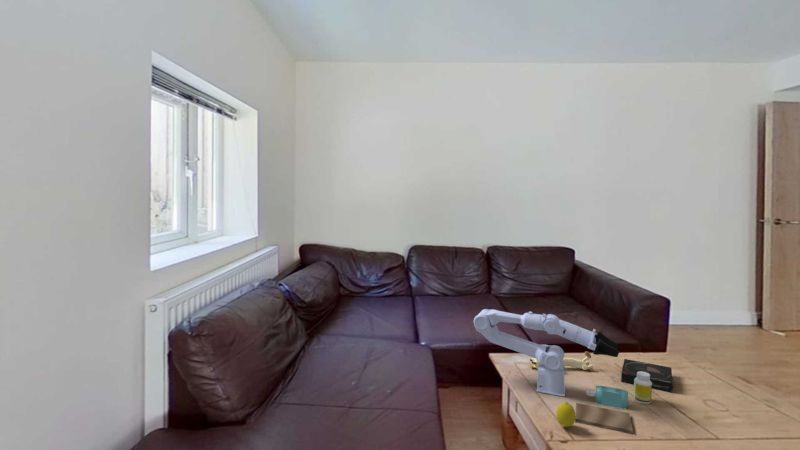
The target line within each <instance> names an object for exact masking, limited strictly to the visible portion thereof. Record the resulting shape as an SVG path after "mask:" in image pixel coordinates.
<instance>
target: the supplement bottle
mask: <svg viewBox="0 0 800 450" xmlns="http://www.w3.org/2000/svg"><path fill="white" fill-rule="evenodd" d="M649 379H650V374H649V373H646V372H642V371H639V372H637V377H636V378H635V379H634V385H633V400H634V401H635V402H637V403H640V404H645V405H649V404H651V403H652V390H653V389H652V382H651V381H650V380H649Z"/></svg>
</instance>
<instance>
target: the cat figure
mask: <svg viewBox="0 0 800 450" xmlns="http://www.w3.org/2000/svg"><path fill="white" fill-rule="evenodd" d="M584 355H585V356H586V357H584V358H583V359H578V358H573V357H565V356H564V358H563V362H562V364H563V365H564V367H571V368H577V369H579V370H583V371H587V370H588V371H589V372H590V373H591V372H594V368H593V367H594V365H593V364H590V359H592V355H591V353H590V352H589V351H586V350H585V351H584ZM529 361H530V362H528V365H529V367H530V368H533V369H537V370H538V365H539V364H541V363H539V362H538V360H537V359H536V358H533V357H531V358H530V359H529ZM541 365H543V364H541Z"/></svg>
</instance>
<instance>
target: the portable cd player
mask: <svg viewBox="0 0 800 450" xmlns="http://www.w3.org/2000/svg"><path fill="white" fill-rule="evenodd" d="M621 368H622V370H621V374H620V375H621V381H620V382H621V383H623V384H626V385H627V384H629V385H632V386H634V379H635V378H636V377H637V372H639V371H642V372H646V373H649V374H650V379H649V380H650V381H651V382H652V390H657V391H661V392H666V393H670V394H673V373H672V372H673V371H672V367H670V366H665V365H659V364H654V363H649V362H645V361H644V362H643V361H637V360H631V359H627V358H624V360H623V365H622V367H621Z"/></svg>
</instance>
